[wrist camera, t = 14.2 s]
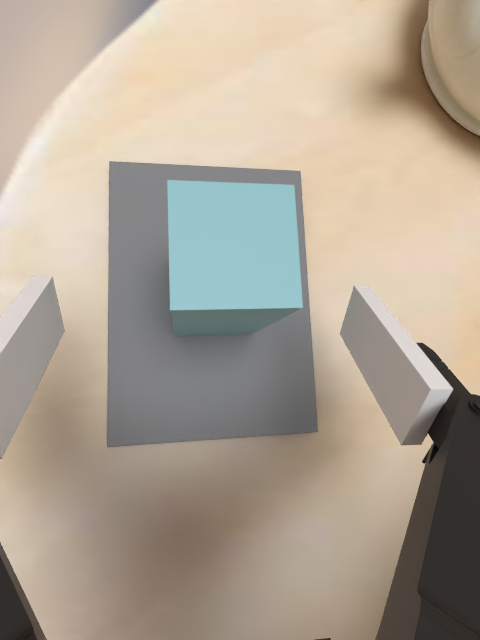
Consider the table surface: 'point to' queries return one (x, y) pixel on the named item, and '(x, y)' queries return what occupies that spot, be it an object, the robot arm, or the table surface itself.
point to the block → (232, 256)
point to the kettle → (454, 58)
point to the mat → (194, 351)
